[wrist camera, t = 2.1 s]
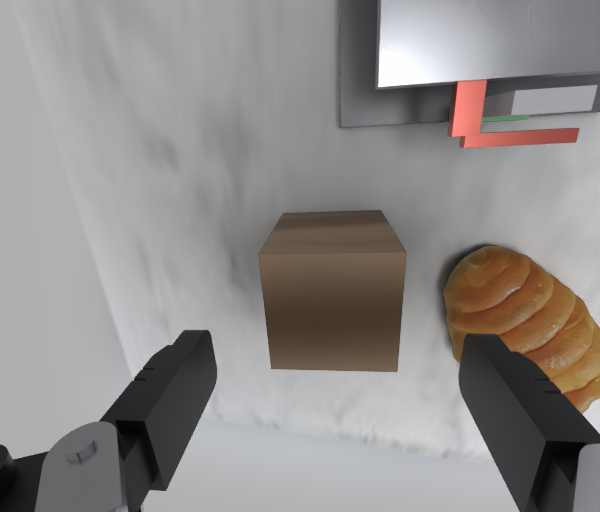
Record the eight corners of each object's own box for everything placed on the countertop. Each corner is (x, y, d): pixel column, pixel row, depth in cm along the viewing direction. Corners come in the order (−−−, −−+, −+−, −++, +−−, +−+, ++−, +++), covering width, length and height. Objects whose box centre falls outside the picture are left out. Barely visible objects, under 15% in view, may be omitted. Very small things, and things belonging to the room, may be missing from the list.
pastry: (404, 281, 17) (423, 318, 14) (526, 212, 16) (583, 236, 12) (480, 393, 20) (513, 449, 16) (594, 345, 18) (660, 397, 14)
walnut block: (283, 213, 16) (258, 254, 11) (380, 210, 16) (406, 252, 10) (289, 296, 18) (271, 368, 13) (377, 296, 18) (397, 372, 12)
